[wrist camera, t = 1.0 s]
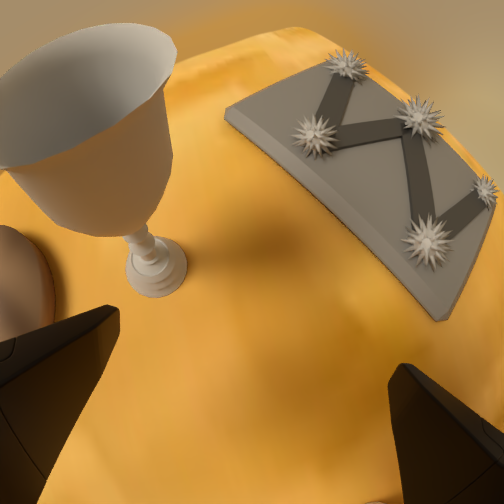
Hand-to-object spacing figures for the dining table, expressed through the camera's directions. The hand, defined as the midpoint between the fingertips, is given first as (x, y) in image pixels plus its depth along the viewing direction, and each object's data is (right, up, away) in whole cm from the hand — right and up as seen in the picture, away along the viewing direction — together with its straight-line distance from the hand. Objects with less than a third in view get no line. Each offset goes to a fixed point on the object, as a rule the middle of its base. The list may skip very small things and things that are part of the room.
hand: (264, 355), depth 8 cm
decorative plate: (+14, +13, +22) cm, 29 cm away
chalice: (-8, +2, +15) cm, 17 cm away
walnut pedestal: (-23, -2, +11) cm, 26 cm away
